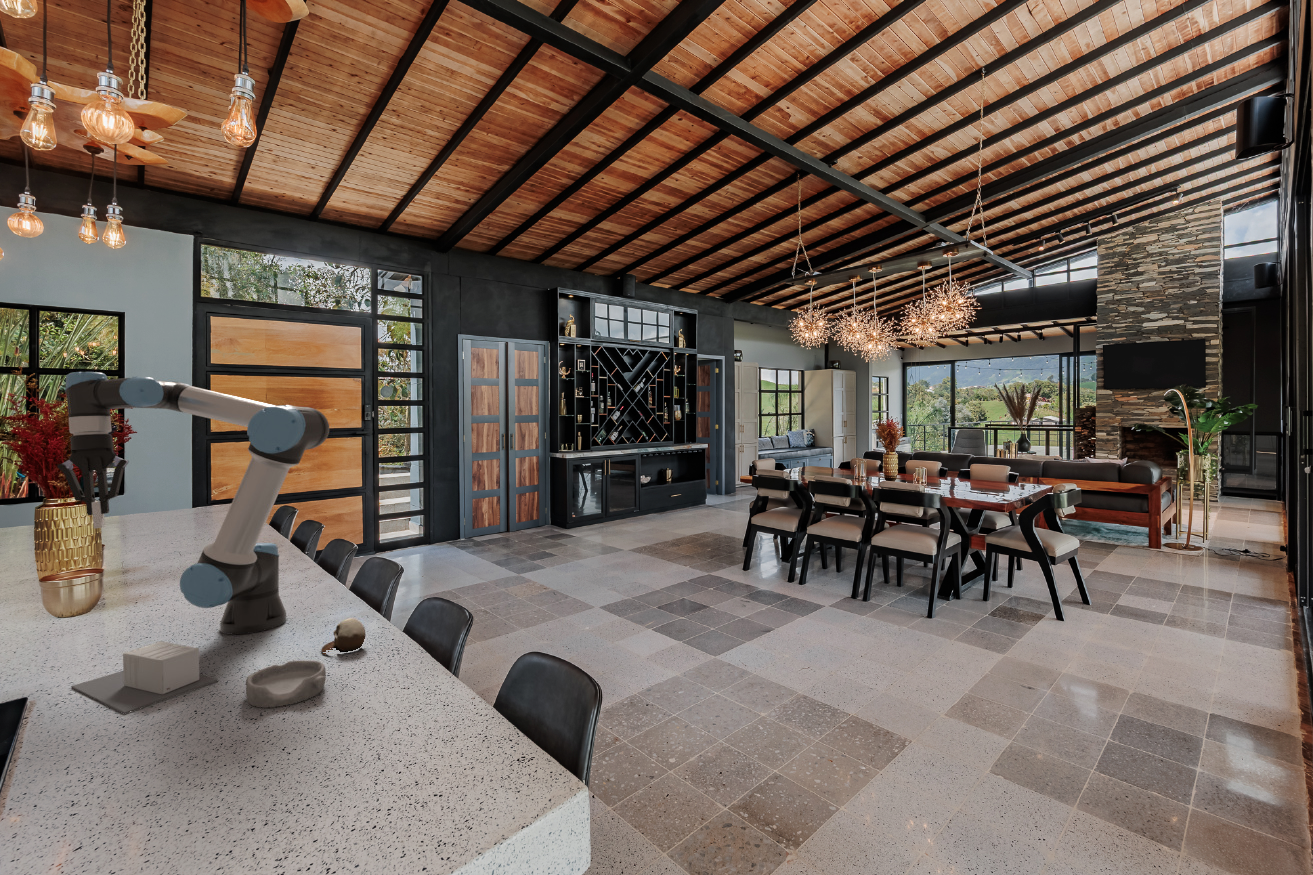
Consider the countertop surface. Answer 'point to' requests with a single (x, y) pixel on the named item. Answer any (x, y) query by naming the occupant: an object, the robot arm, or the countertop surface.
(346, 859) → the countertop surface
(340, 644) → the skull
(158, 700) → the mat
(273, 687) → the dish
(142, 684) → the supplement box
